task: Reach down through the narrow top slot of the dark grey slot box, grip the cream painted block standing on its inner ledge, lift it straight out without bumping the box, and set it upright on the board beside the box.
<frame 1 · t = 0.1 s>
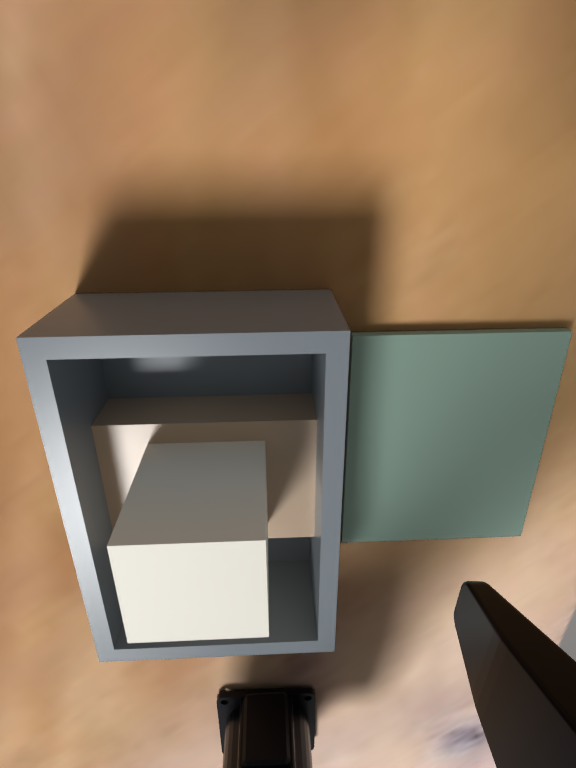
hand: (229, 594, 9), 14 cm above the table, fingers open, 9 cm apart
block: (210, 485, 22), point 3 cm above the table, touching slot box
board: (442, 441, 25), on the table
slot box: (216, 448, 25), on the table, touching block
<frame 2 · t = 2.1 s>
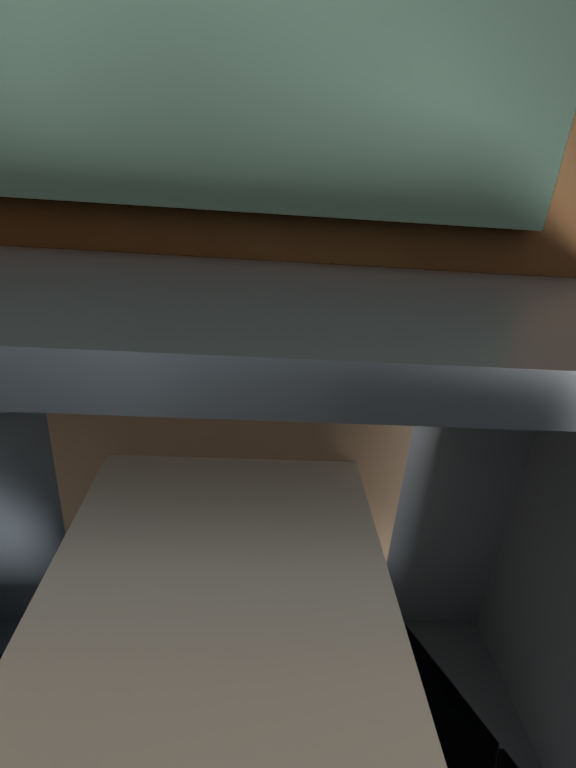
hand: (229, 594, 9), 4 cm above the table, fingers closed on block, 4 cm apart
block: (231, 561, 10), point 3 cm above the table, touching gripper, slot box
slot box: (238, 474, 13), on the table, touching block
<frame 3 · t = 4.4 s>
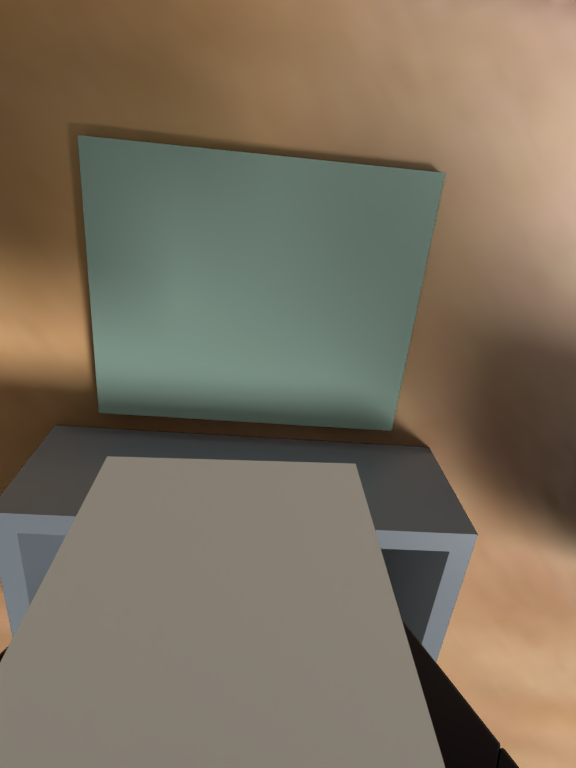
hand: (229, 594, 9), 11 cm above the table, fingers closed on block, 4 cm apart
block: (231, 563, 10), point 11 cm above the table, touching gripper
board: (256, 300, 19), on the table
slot box: (240, 536, 23), on the table
when the fingers open (3 cm above the table, at t = 6.9 s): block drops 1 cm, resting on board.
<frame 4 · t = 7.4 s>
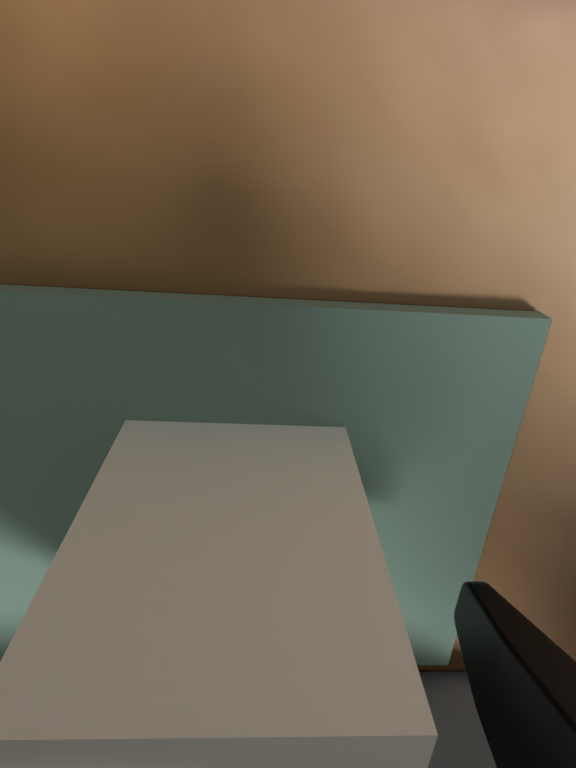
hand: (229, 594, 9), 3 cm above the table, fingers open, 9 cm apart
block: (235, 519, 11), resting on board
board: (234, 504, 12), on the table
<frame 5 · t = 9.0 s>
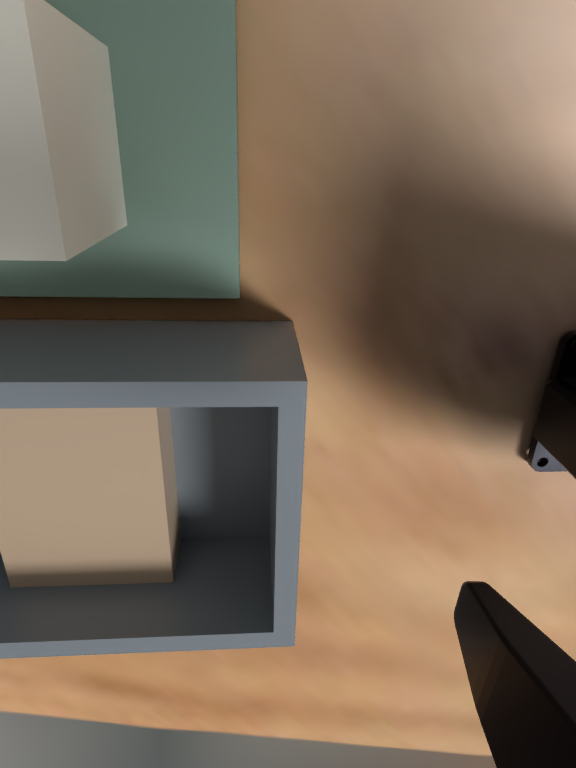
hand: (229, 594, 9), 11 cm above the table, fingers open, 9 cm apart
block: (44, 140, 15), resting on board
board: (48, 139, 16), on the table
slot box: (98, 445, 21), on the table
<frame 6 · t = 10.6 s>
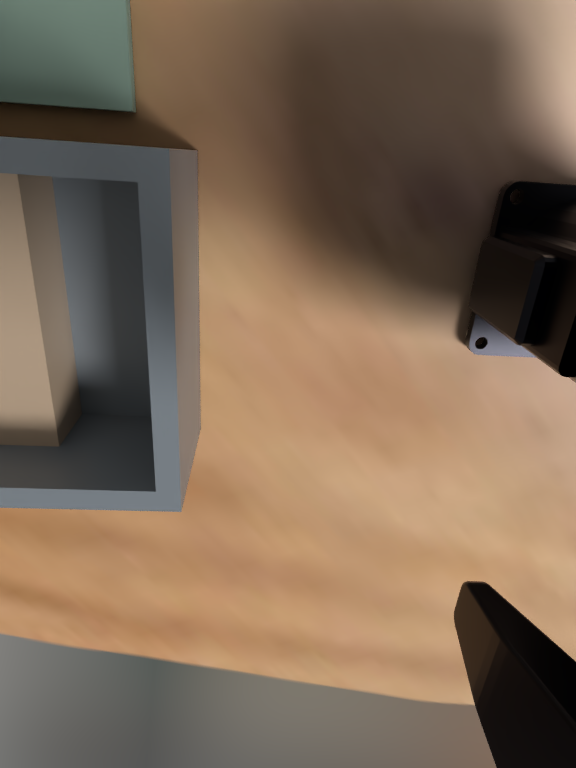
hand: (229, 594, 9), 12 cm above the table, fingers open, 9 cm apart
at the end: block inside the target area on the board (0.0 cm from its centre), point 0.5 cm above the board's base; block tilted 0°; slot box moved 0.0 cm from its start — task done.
